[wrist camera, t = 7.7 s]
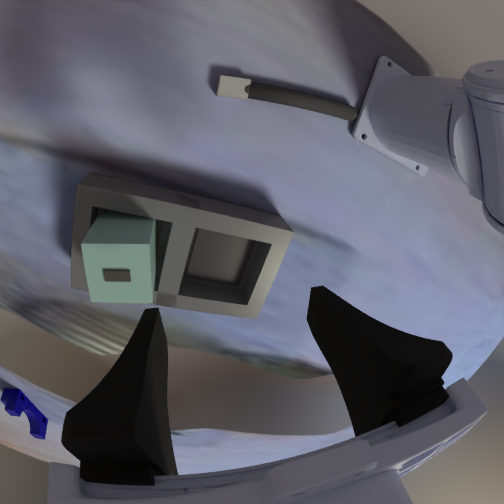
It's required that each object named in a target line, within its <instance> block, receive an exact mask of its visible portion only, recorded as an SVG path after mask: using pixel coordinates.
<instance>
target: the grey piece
mask: <svg viewBox="0 0 504 504" xmlns="http://www.w3.org/2000/svg"><path fill="white" fill-rule="evenodd" d="M101 211H119V212H124V213H129V214H134V215H139V216H144V217H148V218H153V219H156V255H157V263H156V273H155V283H154V295H153V303H149V304H154V305H160V306H166V307H173V308H179V309H185V310H192V311H199V312H206V313H213V314H220V315H228V316H236V317H244V318H253V319H257V317H258V315H259V312H260V310H261V308H262V306H263V303H264V301H265V299H266V297H267V294H268V292H269V290H270V288H271V285H272V283H273V281H274V278H275V276H276V274H277V271H278V269H279V267H280V264H281V262H282V260H283V257H284V255H285V253H286V250H287V248H288V246H289V243H290V241H291V238H292V236H293V234H294V231H293V230H292V229H291V228H290V226H289V225H288V224H287V223H286V222H285V220H284V219H283V218H282V217H281V216H278V215H274V214H271V213H267V212H263V211H259V210H255V209H251V208H247V207H243V206H239V205H235V204H231V203H227V202H223V201H219V200H215V199H211V198H206V197H202V196H198V195H194V194H189V193H185V192H181V191H176V190H172V189H167V188H163V187H158V186H153V185H149V184H144V183H139V182H135V181H130V180H125V179H120V178H115V177H110V176H105V175H99V174H94V173H89V174H88V175H87V176H86V177H85V178H84V179H82V180H81V181H80V182H79V183H78V184H77V189H76V197H75V206H74V217H73V230H72V249H71V288H74V289H78V290H83V291H87V292H89V288H88V283H87V278H86V273H85V267H84V261H83V254H82V248H81V243H82V241H83V239H84V238H85V236H86V234H87V233H88V231H89V230H90V228H91V226H92V225H93V223H94V222H95V220H96V219H97V217H98V215H99V214H100V212H101Z"/></svg>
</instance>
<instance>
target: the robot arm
mask: <svg viewBox="0 0 504 504" xmlns="http://www.w3.org/2000/svg"><path fill="white" fill-rule="evenodd" d="M388 63H389V64H390V66H388ZM362 134H364V138H363V139H362ZM352 136H353V138H354V139H356V140H358V141H360V142H362V143H364V144H366V145H368V146H370V147H371V148H373V149H375V150H377V151H379V152H381V153H383V154H384V155H386V156H388V157H390V158H392V159H393V160H395V161H397V162H399V163H400V164H402V165H404V166H406V167H407V168H409V169H411V170H412V171H414V172H415V173H417V174H419V175H421V176H425V175H426V173H427V171H428V168H430V169H432V170H434V171H437V172H439V173H441V174H443V175H446V176H448V177H450V178H452V179H454V180H457V181H459V182H461V183H463V184H465V185H467V186H468V189H469V194H470V195H471V196H473V197H475V198H477V199H479V200H481V201H482V208H483V213H484V215H485V217H486V219H487V221H488V222H489V224H490V225H491V226H492V227H493V228H494V229H496V230H497V231H498V232H500V233H501V234H503V235H504V60H497V61H487V62H482V63H478V64H475V65H473V66H471V67H470V68H469V69H468V71H467V72H466V73H465V74H464V75H463V77H462V79H456V78H446V77H433V76H412V75H411V74H410V73H408V72H407V71H406V70H405V69H403V68H402V67H401V66H399V65H398V64H396V63H395V62H394V61H392V60H391V59H389V58H388V57H386V56H380V57H379V59H378V62H377V65H376V68H375V71H374V74H373V77H372V79H371V82H370V85H369V88H368V91H367V94H366V96H365V99H364V102H363V105H362V107H361V110H360V113H359V115H358V118H357V121H356V123H355V126H354V129H353V131H352ZM416 166H417V168H416ZM307 322H308V324H309V327H310V330H311V332H312V335H313V337H314V339H315V341H316V342H317V344H318V346H319V348H320V350H321V351H322V353H323V355H324V357H325V359H326V360H327V362H328V364H329V366H330V367H331V369H332V371H333V373H334V375H335V378H336V380H337V382H338V385H339V387H340V390H341V392H342V395H343V398H344V401H345V403H346V406H347V409H348V412H349V416H350V419H351V422H352V426H353V429H354V433H355V437H354V438H352V439H349V440H346V441H343V442H340V443H338V444H335V445H332V446H329V447H326V448H322V449H319V450H316V451H313V452H309V453H306V454H302V455H298V456H295V457H291V458H287V459H283V460H278V461H274V462H270V463H265V464H260V465H255V466H250V467H244V468H238V469H232V470H225V471H217V472H209V473H200V474H188V475H178V472H177V468H176V463H175V458H174V452H173V446H172V440H171V433H170V427H169V417H168V408H167V377H168V349H167V339H166V335H165V331H164V327H163V323H162V320H161V316H160V312H159V308H150V309H145V310H144V312H143V314H142V316H141V319H140V321H139V323H138V325H137V327H136V329H135V331H134V333H133V335H132V336H131V338H130V340H129V342H128V344H127V345H126V347H125V349H124V350H123V352H122V354H121V355H120V357H119V358H118V360H117V361H116V363H115V364H114V366H113V367H112V368H111V370H110V371H109V372H108V373H107V375H106V376H105V377H104V378H103V379H102V381H101V382H100V383H99V384H98V385H97V386H96V387H95V388H94V389H93V390H92V391H91V392H90V393H89V394H88V395H87V396H86V397H85V398H84V399H83V400H82V401H80V402H79V403H78V404H77V405H75V406H74V407H73V408H72V409H70V410H69V411H68V412H66V416H65V420H64V424H63V431H62V438H61V442H62V445H63V446H64V447H65V448H66V449H67V450H68V451H69V452H70V453H71V454H73V455H74V456H75V457H76V458H77V459H79V460H80V468H79V467H77V466H74V465H69V464H62V463H56V462H50V468H49V480H48V499H47V500H48V501H47V504H413V503H412V501H411V499H410V497H409V495H408V493H407V491H406V489H405V487H404V485H403V483H402V481H401V480H400V478H399V477H401V476H403V475H405V474H406V473H408V472H410V471H411V470H413V469H415V468H416V467H418V466H420V465H421V464H423V463H424V462H426V461H428V460H429V459H431V458H432V457H434V456H435V455H437V454H438V453H440V452H441V451H443V450H444V449H445V448H447V447H448V446H449V445H451V444H453V443H454V442H455V441H457V440H458V439H459V438H461V437H462V436H463V435H464V434H466V433H467V432H468V431H469V430H470V429H471V428H472V427H473V426H474V425H475V424H476V423H477V422H478V421H479V420H480V419H481V418H482V417H483V416H484V415H485V414H486V412H487V411H488V409H487V408H486V406H485V405H484V404H483V402H482V401H481V400H480V398H479V397H478V396H477V394H476V393H475V392H474V390H473V389H472V388H471V386H470V385H469V384H468V383H467V381H466V380H465V379H464V378H461V379H460V380H458V381H457V382H455V383H453V384H452V385H450V386H449V387H448V388H446V389H444V388H443V386H442V385H443V384H444V381H443V380H442V378H441V377H442V375H443V374H444V372H445V371H446V369H447V368H448V366H449V365H450V363H451V360H452V357H453V355H452V352H451V351H450V350H449V349H448V348H447V346H446V345H445V344H444V343H443V342H442V341H436V340H431V339H426V338H422V337H418V336H415V335H412V334H408V333H405V332H403V331H400V330H397V329H395V328H392V327H390V326H388V325H386V324H384V323H382V322H380V321H377V320H376V319H374V318H372V317H370V316H368V315H367V314H365V313H363V312H362V311H360V310H358V309H357V308H355V307H354V306H352V305H351V304H349V303H348V302H346V301H345V300H343V299H342V298H340V297H339V296H337V295H336V294H335V293H333V292H332V291H330V290H329V289H327V288H326V287H324V286H317V287H311V293H310V300H309V307H308V313H307Z"/></svg>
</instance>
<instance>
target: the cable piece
mask: <svg viewBox="0 0 504 504" xmlns="http://www.w3.org/2000/svg"><path fill="white" fill-rule="evenodd" d="M216 95H217V96H225V97H233V98H240V99H248V98H250V99H257V100H262V101H268V102H273V103H279V104H284V105H288V106H293V107H298V108H302V109H307V110H311V111H315V112H319V113H323V114H327V115H331V116H334V117H338V118H342V119H345V120H349V121H352V120H354V119H355V118H356V117H357V110H356V109H355V108H354V107H352V106H350V105H346V104H343V103H340V102H337V101H333V100H330V99H326V98H322V97H319V96H315V95H311V94H307V93H303V92H299V91H295V90H290V89H286V88H281V87H276V86H272V85H266V84H261V83H255V82H251V80H250V79H244V78H237V77H231V76H223V75H220V76H219V80H218V86H217V92H216Z"/></svg>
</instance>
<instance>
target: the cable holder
mask: <svg viewBox="0 0 504 504" xmlns="http://www.w3.org/2000/svg"><path fill="white" fill-rule="evenodd" d="M1 401H2V402H3V403H4V405H5V410H6V411H7V412H8V413H9V414H10V415H11V416H19V417H20V415H21V413H22V411H24V412H25V414H26V415H27V417H28V420H29V423H30V434H31V435H32V436H34V437H35V438H38V439H45V435H46V429H47V423H48V419H47V418H46V417H45V416H44V415H43V414H42V413H41V412H40V411H39V410H38V409H37V408H36V407H35V406H34V404H33V403H32V402H31V401H30V400H29V399H28V398H27V397H26V396H25V395H24V393H23V392H22V391H21V390H20V389H10V388H4V390H3V393H2V397H1Z"/></svg>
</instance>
